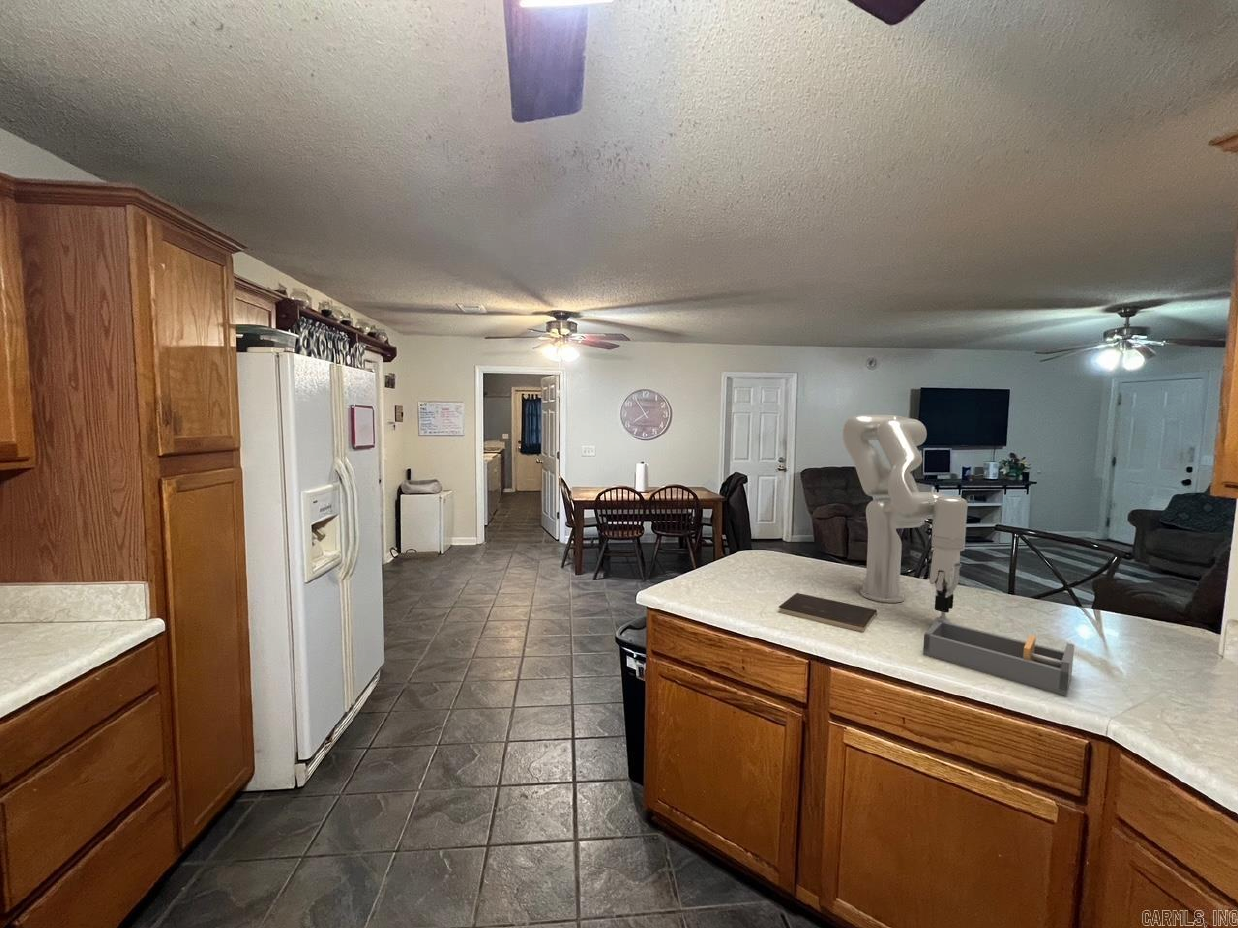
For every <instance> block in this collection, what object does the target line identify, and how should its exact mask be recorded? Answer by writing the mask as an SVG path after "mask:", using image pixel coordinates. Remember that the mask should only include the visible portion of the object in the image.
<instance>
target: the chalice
mask: <svg viewBox="0 0 1238 928" xmlns="http://www.w3.org/2000/svg"><path fill="white" fill-rule="evenodd" d="M962 565H963V564H962V563H961V562H960V563H959V566H954V567H955V574H954V580H953V584H952V586H951V587H949V596H951V594H952V593H953V594H954V592H955V590H957V589H956V588H957V586H958V585H959V580H960V569H961V567H962ZM933 585H934V586H935V587H936V586H937V579H936V582H935V583H934V584H933ZM946 585H947V584H946V583H944V584H943V586H946ZM943 589H945V592H946V588H943ZM953 591H954V592H953ZM940 613H941V615H940V616H937V617H936V618H934V621H933V622H932V624H931V627H932V626H933V625H934V624H935V623H936V622H937V621H938V620H940V621H944V622H948V623H952V622H951V620H950V619H949V618H947V616H946V612H942V611H940Z"/></svg>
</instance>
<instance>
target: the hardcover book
mask: <svg viewBox="0 0 1238 928" xmlns="http://www.w3.org/2000/svg"><path fill="white" fill-rule="evenodd" d="M778 608H779V613H780V614H781V613H782V614H786V615H790V616H795V617H798V618H802V619H807V620H810V621H815V622H818V623H823V624H827V625H831V626H834V627H840V628H844V629H849V630H851V631H852V630H853V631H856V632H861V633H864V632H865V630H866V629H867V627H868V626H869V625H870V624H871V622H872V621H873V620H874V618H876V616H877V615H878V610H877V609H875V608H871V607H865V606H860V605H856V604H852V603H851V604H850V603H848V602H847V603H846V602H842V601H839V600H838V601H837V600H833V599H827V598H824V597H818V596H813V595H810V594H809V595H808V594H803V593H799V592H796V593H794V594H793V595H792V596H790V597H789V598H788V599H787V600H785V601H784V602H783V603H782V604H780V605H778Z"/></svg>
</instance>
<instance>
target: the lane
mask: <svg viewBox="0 0 1238 928" xmlns="http://www.w3.org/2000/svg"><path fill="white" fill-rule="evenodd" d="M923 634H924V635H923V647H922V654H923V655H925V656H928V657H930V658H935V659H938V660H941V661H945V662H948V663H951V664H955V665H959V666H961V667H966V668H967V669H972V670H975V671H979V672H981V673H985V674H988V675H989V674H990V675H992V676H995V677H999V678H1003V679H1006V680H1010V681H1011V682H1012V681H1013V682H1016V683H1020V684H1023V685H1027V686H1030V687H1032V688H1036V689H1039V690H1040V689H1041V690H1044V691H1047V692H1049V693H1054V694H1058V695H1061V696H1064V697H1067V696H1068V691H1069V688H1070V683H1071V679H1072V675H1073V664H1074V651H1075V644H1074V643H1073V644H1072V643H1069V642H1067V643H1066V646H1065V648H1064V650H1061V649H1056V648H1053V647H1048V646H1044V645H1040V644H1036V643H1035V649H1034V654H1038V655H1042V656H1045V657H1049V658H1053V659H1057V660H1061V661H1062V662H1061V666H1058V665H1054V664H1050V663H1046V662H1043V661H1039V660H1035V659H1034V661H1030V660H1026V659H1023V652H1024V646H1025V644H1026V642H1027V641H1023V640H1021V639H1015V638H1013V637H1008V636H1003V635H999V634H995V633H991V632H988V631H983V630H980V629H976V628H971V627H967V626H964V625H959V624H956V623H952V622H951V623H948V622H944V621H940V620H938V621H937V622H936V623H935V624H934V625H933V626H932V625H931V627H930V628H929V629H928V630H927V631H926V632H925V633H923Z"/></svg>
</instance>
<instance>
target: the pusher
mask: <svg viewBox="0 0 1238 928" xmlns="http://www.w3.org/2000/svg"><path fill="white" fill-rule="evenodd" d="M1025 642H1026V644H1025V646H1024V652H1023V659H1026V660H1030V661H1034V659H1035V660H1039V661H1043V662H1046V663H1050V664H1054V665H1058V666H1061V662H1062V661H1061V660H1057V659H1053V658H1049V657H1045V656H1042V655H1038V654H1034V649H1035V644H1036V636H1035V635H1031V634H1030V635H1029V636H1028V638H1027V641H1025Z"/></svg>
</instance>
